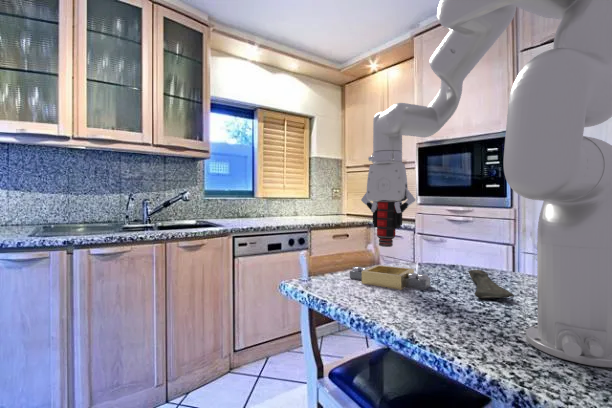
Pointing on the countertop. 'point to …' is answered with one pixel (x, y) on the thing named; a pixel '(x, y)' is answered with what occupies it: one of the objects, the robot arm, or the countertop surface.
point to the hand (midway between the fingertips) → (387, 226)
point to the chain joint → (391, 277)
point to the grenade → (385, 223)
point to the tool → (487, 286)
